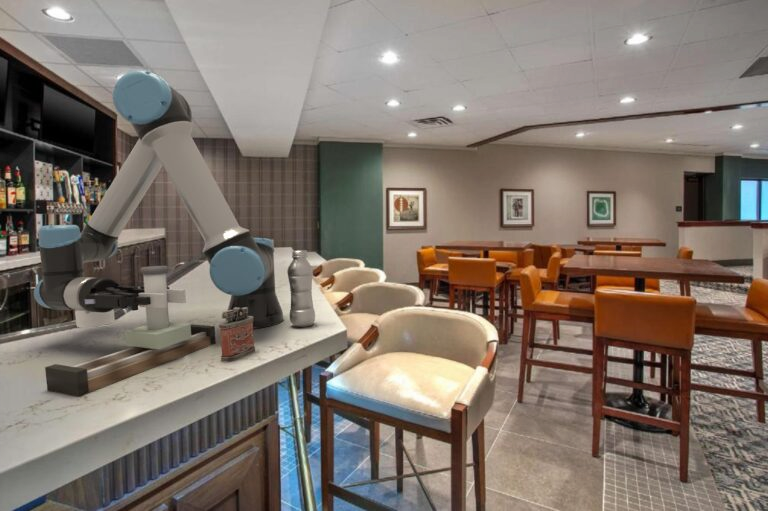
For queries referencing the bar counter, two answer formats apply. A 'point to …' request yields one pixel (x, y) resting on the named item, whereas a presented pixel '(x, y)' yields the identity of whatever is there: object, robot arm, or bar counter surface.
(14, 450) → the bar counter surface
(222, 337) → the lighter
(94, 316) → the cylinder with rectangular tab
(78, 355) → the bar counter surface
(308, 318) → the plastic bottle
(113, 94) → the robot arm
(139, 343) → the carriage
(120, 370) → the rail track
